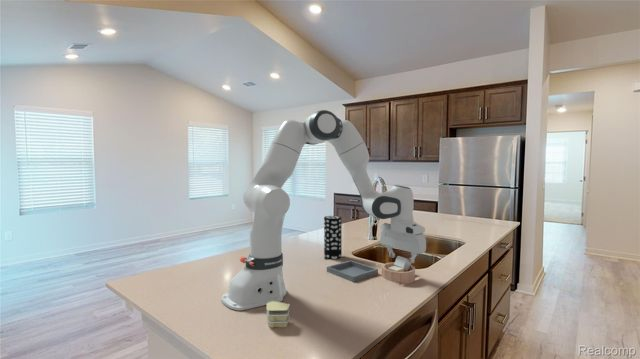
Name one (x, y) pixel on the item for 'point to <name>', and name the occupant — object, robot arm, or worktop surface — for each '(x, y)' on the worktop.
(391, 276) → the terracotta bowl
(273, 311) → the pale green layered block
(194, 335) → the worktop surface
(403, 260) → the pale blue cube
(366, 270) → the parts tray
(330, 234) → the spotted tube
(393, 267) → the cream small cube
